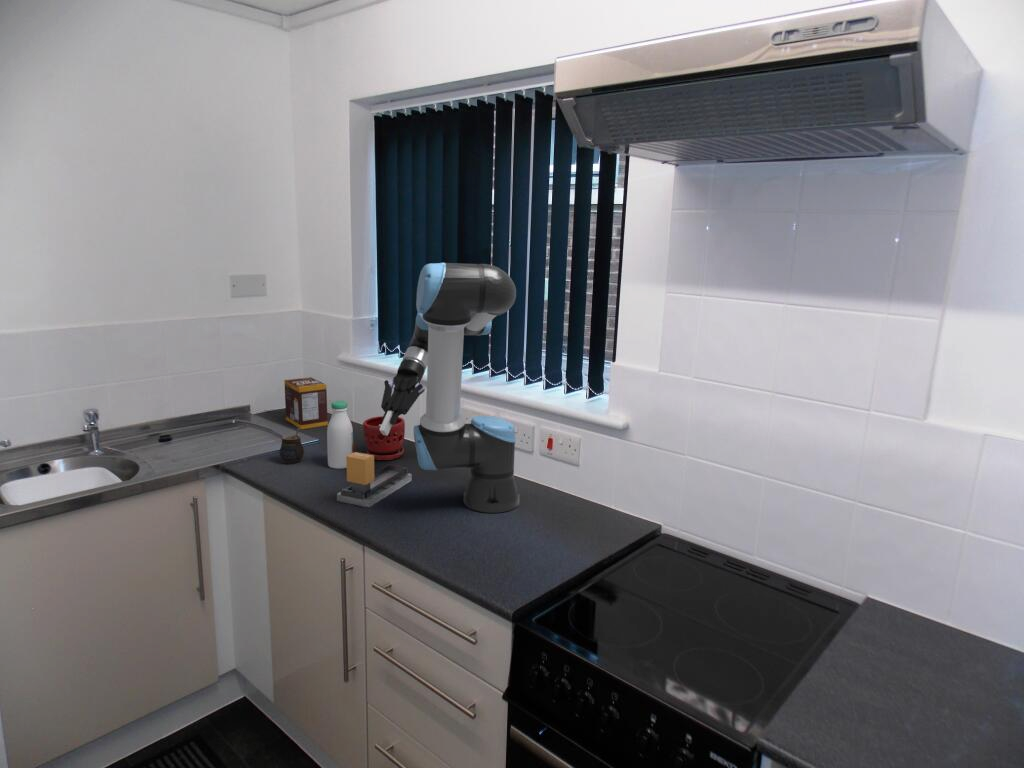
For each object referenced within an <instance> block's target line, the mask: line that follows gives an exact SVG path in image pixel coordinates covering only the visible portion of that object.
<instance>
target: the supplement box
mask: <svg viewBox="0 0 1024 768" xmlns="http://www.w3.org/2000/svg"><path fill="white" fill-rule="evenodd" d="M327 391H328V390H327V384H326V383H324V382H322V381H320V380H317V379H316V378H313V377H312V376H310V377H308V376H307V377H299V378H292V379H291V378H289V379H284V400H285V420H286V421H287V422H289V423H290V424H292V425H293V426H295V427H297V429H298V428H300V429H299V430H306V429H312V428H317V427H323V426H328V424H329V420H328V400H327V399H328V396H327V395H328V394H327Z"/></svg>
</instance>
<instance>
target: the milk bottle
mask: <svg viewBox="0 0 1024 768" xmlns="http://www.w3.org/2000/svg"><path fill="white" fill-rule="evenodd" d="M331 410H332V411H331V412H332V413H331V417H330V420H328V425H327V428H326V432H327V433H326V438H327V439H326V441H327V442H326V444H327V449H326V450H327V465H328V467H330V468H332V469H339V470H341V469H347V462H346V456H348V455H350V454H352V453H354V452H355V451H354V431H353V430H354V429H353V425H352V421H351V420H350V417H349V416H348V413H347V410H348V402H347V401H344V400H335V401H332V402H331Z"/></svg>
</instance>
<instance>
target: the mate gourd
mask: <svg viewBox="0 0 1024 768" xmlns="http://www.w3.org/2000/svg"><path fill="white" fill-rule="evenodd" d="M300 430H301V429H300V428H298V427H297V430H296V432H295V434H288V435H284V436H281V445H280V448H279V451H278V453H279V457H280V460H281V461H282V462H283V463H284V464H289V465H291V464H293V465H294V464H298V463H300V461H302V460H303V458H304V454H305V450H304V447H303V444H302V442H301V441H302V440H301V436H300V435H299V431H300Z"/></svg>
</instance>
